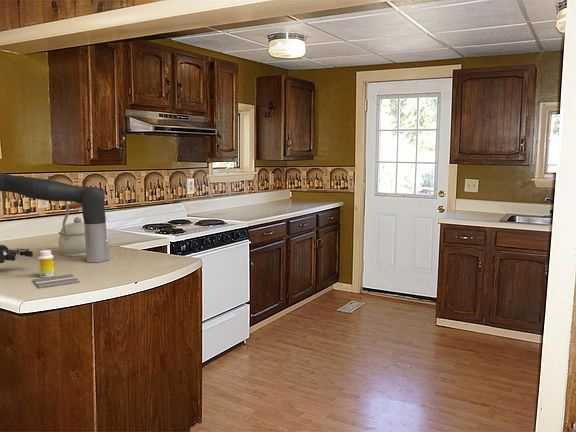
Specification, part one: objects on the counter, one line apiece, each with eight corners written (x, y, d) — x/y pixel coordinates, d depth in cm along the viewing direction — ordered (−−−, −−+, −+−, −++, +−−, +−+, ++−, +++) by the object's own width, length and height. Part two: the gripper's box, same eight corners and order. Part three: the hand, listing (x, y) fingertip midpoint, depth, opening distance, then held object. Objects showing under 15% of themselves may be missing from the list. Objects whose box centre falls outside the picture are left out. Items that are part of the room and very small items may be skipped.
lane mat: (71, 275, 205) (71, 273, 205) (79, 282, 193) (79, 280, 193) (32, 280, 197) (32, 279, 197) (39, 288, 185) (39, 286, 185)
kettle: (83, 258, 238) (80, 205, 235) (48, 257, 242) (44, 204, 239) (112, 248, 263) (109, 199, 259) (80, 247, 266) (76, 199, 263)
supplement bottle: (57, 276, 204) (55, 250, 203) (43, 278, 200) (41, 252, 199) (51, 273, 208) (49, 249, 207) (37, 276, 204) (35, 251, 203)
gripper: (-23, 247, 205) (7, 249, 200) (7, 241, 219) (37, 243, 213) (-22, 265, 206) (9, 268, 201) (9, 259, 220) (38, 261, 214)
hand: (23, 256), depth 207 cm, fingers open, 8 cm apart
